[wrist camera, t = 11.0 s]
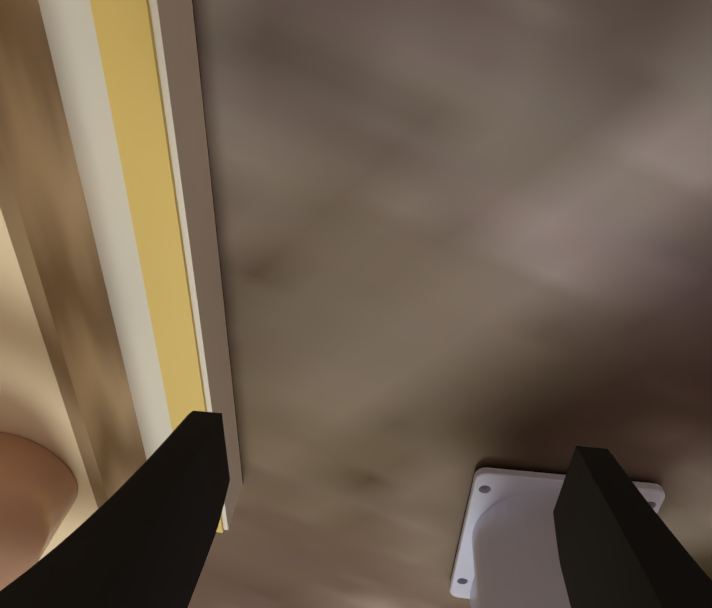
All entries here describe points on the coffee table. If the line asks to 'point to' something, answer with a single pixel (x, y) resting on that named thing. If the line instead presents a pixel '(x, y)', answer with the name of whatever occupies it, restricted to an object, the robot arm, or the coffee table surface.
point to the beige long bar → (55, 286)
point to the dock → (150, 204)
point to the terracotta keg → (30, 503)
